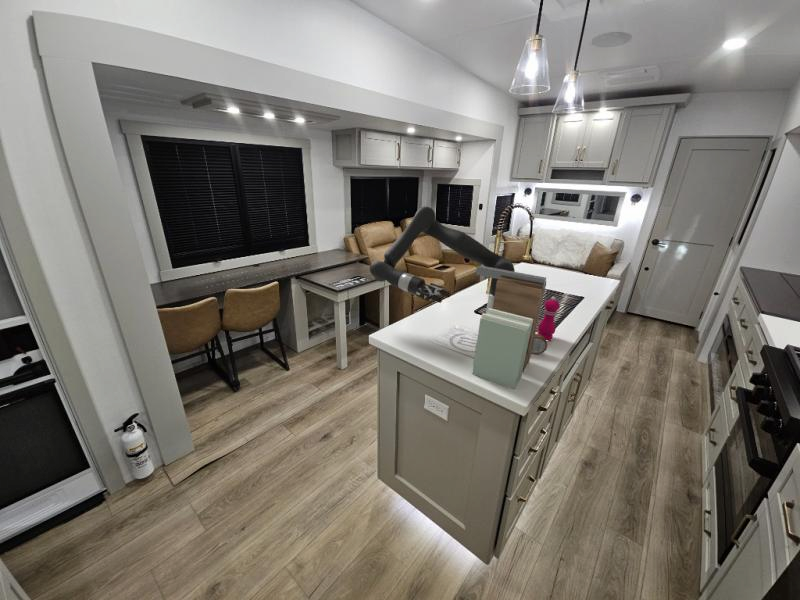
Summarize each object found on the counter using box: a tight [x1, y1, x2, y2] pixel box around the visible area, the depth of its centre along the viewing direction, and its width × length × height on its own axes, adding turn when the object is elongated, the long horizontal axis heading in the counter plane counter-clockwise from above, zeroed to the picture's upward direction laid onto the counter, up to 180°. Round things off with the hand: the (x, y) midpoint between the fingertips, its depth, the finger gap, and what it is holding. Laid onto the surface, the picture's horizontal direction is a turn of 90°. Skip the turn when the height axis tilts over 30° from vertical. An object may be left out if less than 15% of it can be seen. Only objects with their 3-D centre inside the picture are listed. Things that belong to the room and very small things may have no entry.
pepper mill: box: [537, 296, 561, 341], centre depth 141 cm, size 7×7×20 cm
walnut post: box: [492, 277, 547, 373], centre depth 118 cm, size 9×15×33 cm, turn 57°
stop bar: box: [475, 265, 547, 287], centre depth 114 cm, size 3×24×3 cm, turn 57°
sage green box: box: [471, 308, 533, 390], centre depth 110 cm, size 9×15×23 cm, turn 57°
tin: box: [531, 333, 548, 355], centre depth 130 cm, size 15×3×8 cm, turn 74°
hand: (446, 297), depth 126 cm, fingers open, 8 cm apart
